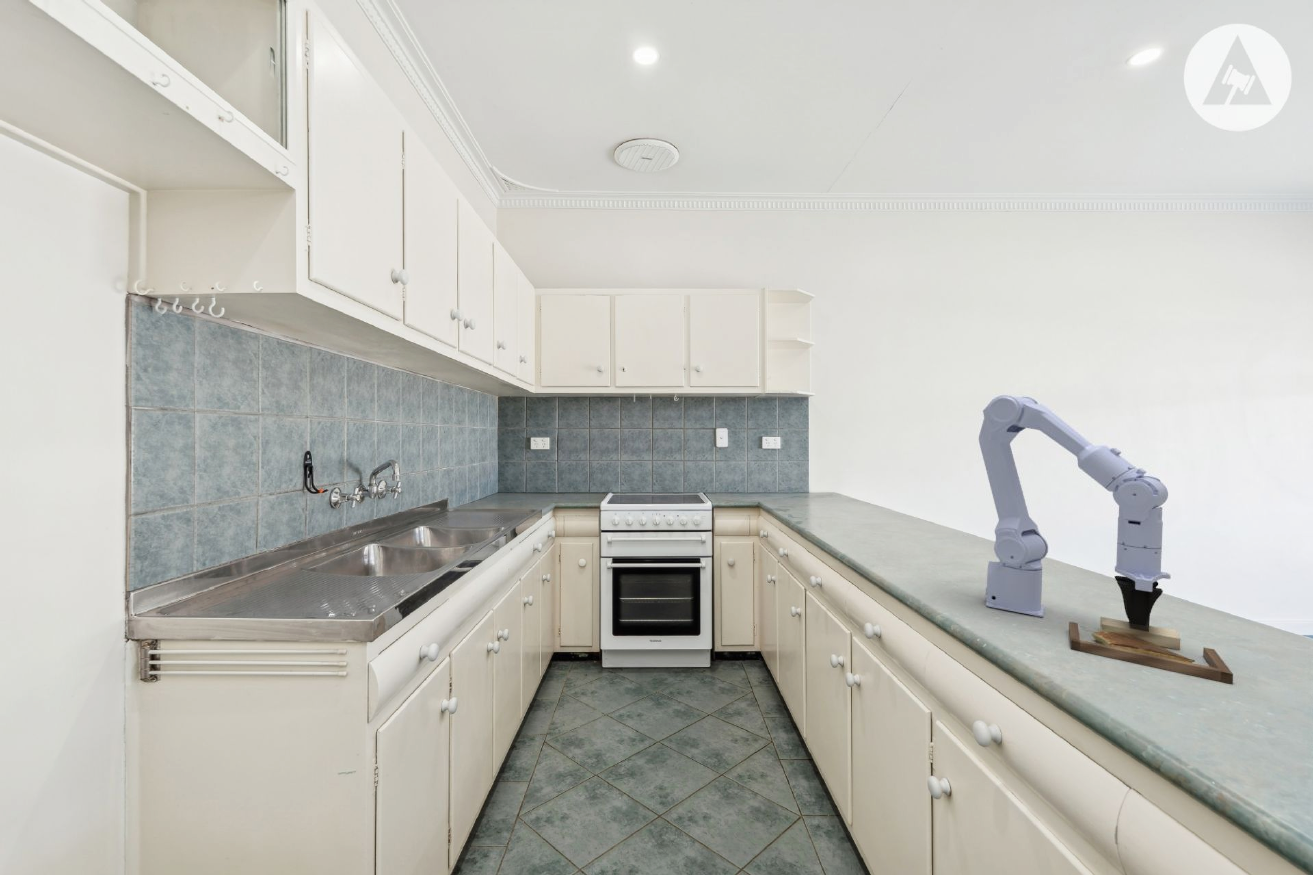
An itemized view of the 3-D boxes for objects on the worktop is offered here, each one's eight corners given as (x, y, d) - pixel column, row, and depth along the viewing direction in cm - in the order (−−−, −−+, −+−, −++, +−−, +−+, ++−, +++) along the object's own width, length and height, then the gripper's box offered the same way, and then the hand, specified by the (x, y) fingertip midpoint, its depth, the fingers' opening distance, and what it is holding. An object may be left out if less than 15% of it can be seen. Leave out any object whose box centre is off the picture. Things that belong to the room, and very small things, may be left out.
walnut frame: (1070, 649, 86) (1071, 640, 86) (1068, 629, 94) (1069, 621, 94) (1232, 684, 74) (1233, 674, 74) (1213, 658, 83) (1214, 649, 83)
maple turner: (1101, 634, 92) (1103, 598, 91) (1100, 626, 94) (1101, 591, 93) (1179, 649, 86) (1182, 611, 85) (1176, 641, 88) (1179, 603, 87)
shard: (1195, 670, 79) (1195, 658, 79) (1151, 671, 79) (1151, 660, 79) (1124, 640, 90) (1125, 630, 90) (1085, 641, 90) (1086, 631, 89)
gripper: (1179, 557, 81) (1176, 641, 81) (1163, 541, 93) (1160, 615, 93) (1120, 549, 85) (1117, 629, 86) (1111, 536, 97) (1109, 606, 97)
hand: (1136, 621), depth 90 cm, fingers closed on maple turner, 2 cm apart
